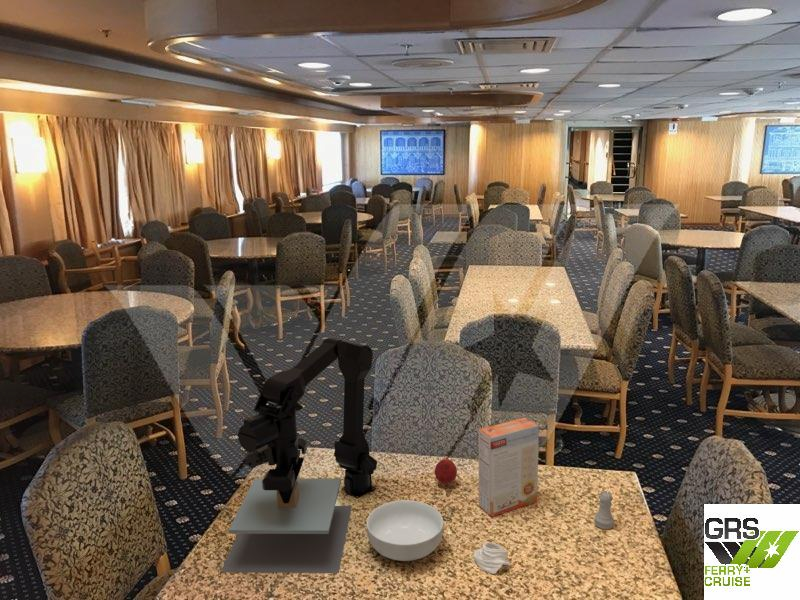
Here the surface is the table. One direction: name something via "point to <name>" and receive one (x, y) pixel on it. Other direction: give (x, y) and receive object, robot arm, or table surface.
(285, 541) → the mat
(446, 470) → the onion
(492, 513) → the cracker box
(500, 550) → the whipped cream
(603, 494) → the grey chess piece
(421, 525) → the cereal bowl
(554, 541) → the table surface
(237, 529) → the lid
